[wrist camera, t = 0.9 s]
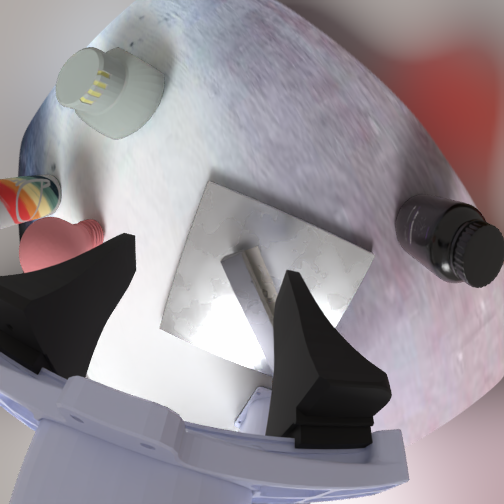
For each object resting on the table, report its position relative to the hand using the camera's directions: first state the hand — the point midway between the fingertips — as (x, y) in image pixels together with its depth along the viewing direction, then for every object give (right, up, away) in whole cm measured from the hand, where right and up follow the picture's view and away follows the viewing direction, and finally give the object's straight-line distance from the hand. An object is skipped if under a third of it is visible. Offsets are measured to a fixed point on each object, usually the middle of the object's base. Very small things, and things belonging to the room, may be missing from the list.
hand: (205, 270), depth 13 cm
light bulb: (-17, +3, +18) cm, 25 cm away
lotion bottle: (-26, +9, +18) cm, 32 cm away
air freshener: (-12, +18, +14) cm, 26 cm away
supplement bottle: (+20, +4, +14) cm, 25 cm away
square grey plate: (+3, -4, +17) cm, 18 cm away
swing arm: (+4, -7, +15) cm, 17 cm away
